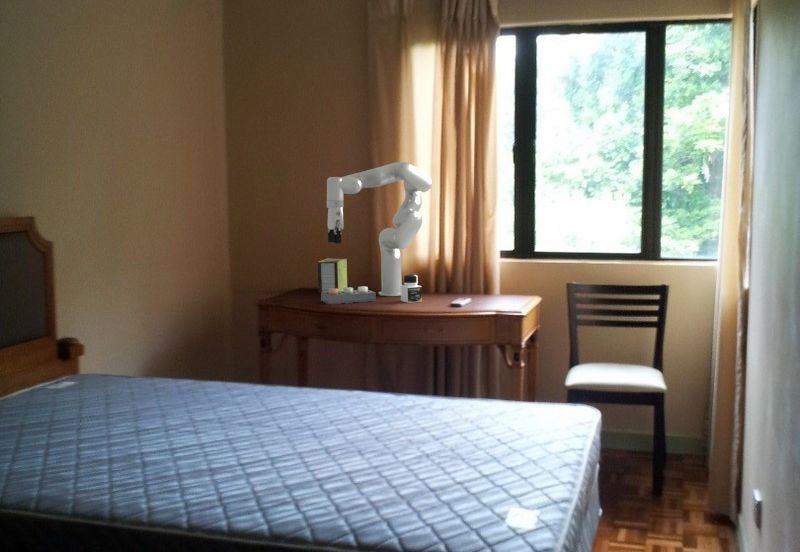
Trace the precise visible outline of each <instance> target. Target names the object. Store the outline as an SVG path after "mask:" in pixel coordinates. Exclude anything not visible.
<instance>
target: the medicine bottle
mask: <svg viewBox="0 0 800 552" xmlns="http://www.w3.org/2000/svg"><path fill="white" fill-rule="evenodd" d="M418 277H419V276H418V275H416V274H406V275H404V277H403V282H404V283H403V284H402V285H401V296H400V302H403V303H408V304H409V303H410V304H411V303H412V304H413V303H421V302H423V300H422V299H423V298H422V297H423V296H422V295H423V291H422V288H423V287H422V285H418V282H419V281H418V280H419V279H418Z"/></svg>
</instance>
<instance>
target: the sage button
mask: <svg viewBox="0 0 800 552" xmlns="http://www.w3.org/2000/svg"><path fill="white" fill-rule="evenodd" d="M353 290H354V287H351V286H349V287H348V286H347V288H343V293H353Z"/></svg>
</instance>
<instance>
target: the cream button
mask: <svg viewBox="0 0 800 552" xmlns="http://www.w3.org/2000/svg"><path fill="white" fill-rule="evenodd" d="M368 287H369V286H364V285H363V286H357V290H358V292H368V290H369V288H368Z"/></svg>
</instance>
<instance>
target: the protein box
mask: <svg viewBox="0 0 800 552" xmlns="http://www.w3.org/2000/svg"><path fill="white" fill-rule="evenodd" d="M347 263H348V262H347V258H325V259H321V260H319V261H317V279H318V280H317V284H318V294H321V292H329V289H332V288H337V289H338V291H343V288H347V287H348V271H347V269H348V267H347V265H348V264H347Z"/></svg>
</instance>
